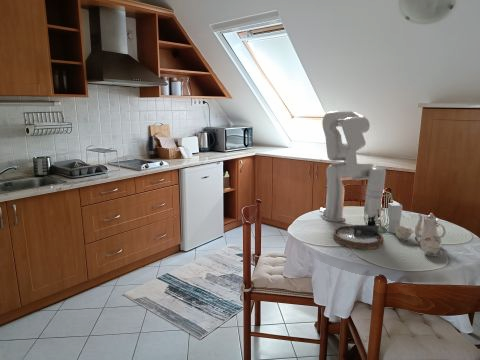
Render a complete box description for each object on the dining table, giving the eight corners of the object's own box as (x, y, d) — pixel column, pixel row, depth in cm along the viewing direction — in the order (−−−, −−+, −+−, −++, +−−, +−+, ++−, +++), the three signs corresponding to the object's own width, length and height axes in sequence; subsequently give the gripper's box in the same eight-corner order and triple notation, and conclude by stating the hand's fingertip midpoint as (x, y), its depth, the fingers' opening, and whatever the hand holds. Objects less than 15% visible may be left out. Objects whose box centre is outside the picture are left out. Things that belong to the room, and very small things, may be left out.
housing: (324, 239, 172) (324, 233, 172) (346, 227, 189) (347, 221, 188) (370, 254, 157) (371, 247, 156) (391, 240, 173) (391, 233, 172)
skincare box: (380, 227, 190) (383, 200, 187) (391, 226, 191) (394, 200, 188) (388, 232, 182) (391, 205, 179) (399, 232, 183) (403, 204, 179)
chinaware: (386, 240, 177) (387, 208, 173) (413, 233, 182) (414, 202, 178) (433, 265, 152) (435, 228, 147) (462, 255, 157) (465, 220, 152)
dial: (344, 245, 163) (345, 232, 161) (331, 230, 182) (332, 217, 180) (386, 245, 164) (388, 231, 162) (369, 229, 183) (370, 217, 181)
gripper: (361, 188, 178) (358, 223, 182) (372, 197, 163) (368, 234, 168) (376, 188, 178) (372, 223, 182) (389, 197, 163) (384, 235, 168)
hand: (370, 228), depth 175 cm, fingers closed
